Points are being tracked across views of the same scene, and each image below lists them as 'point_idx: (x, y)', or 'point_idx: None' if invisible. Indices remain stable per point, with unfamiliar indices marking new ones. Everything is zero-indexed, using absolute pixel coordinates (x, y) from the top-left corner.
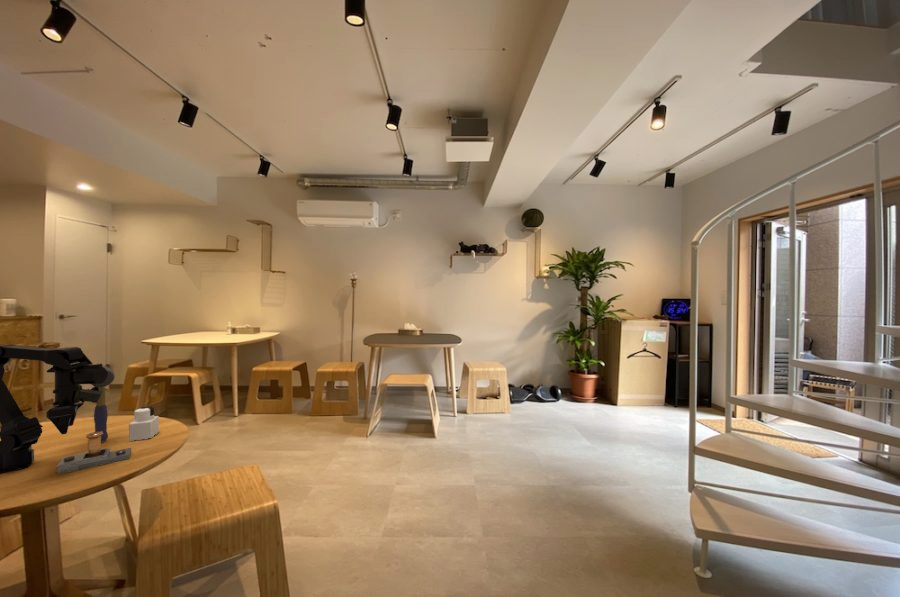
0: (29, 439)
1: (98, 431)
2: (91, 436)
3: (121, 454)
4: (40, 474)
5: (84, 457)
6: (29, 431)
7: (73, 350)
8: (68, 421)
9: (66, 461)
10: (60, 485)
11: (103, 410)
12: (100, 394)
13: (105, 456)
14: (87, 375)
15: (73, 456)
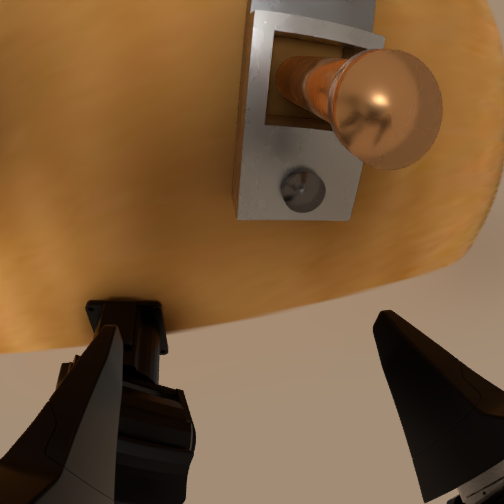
0: (149, 403)
1: (351, 77)
2: (432, 134)
3: None
4: (275, 251)
5: (307, 126)
6: (158, 445)
7: None
8: (486, 382)
9: (327, 196)
10: (442, 182)
11: None
12: None
13: (380, 45)
14: None
15: (305, 177)
